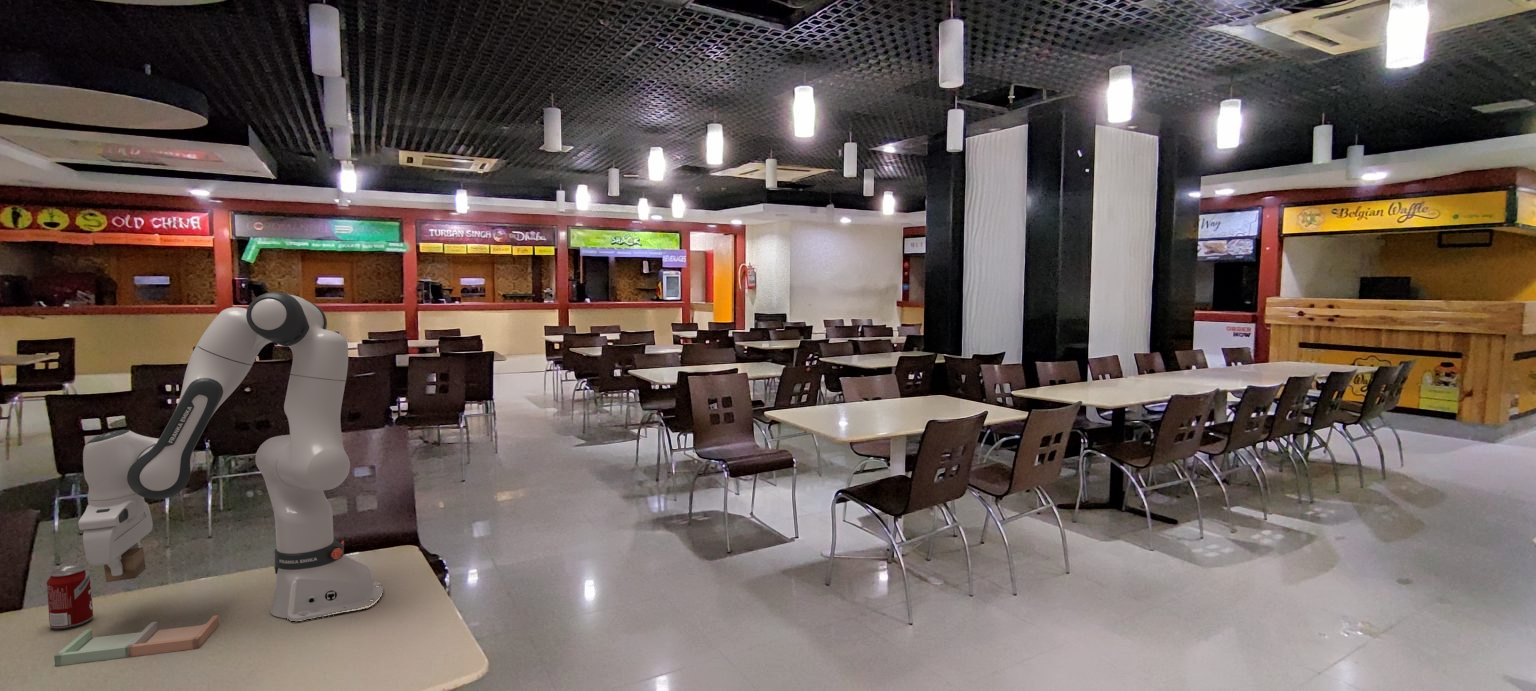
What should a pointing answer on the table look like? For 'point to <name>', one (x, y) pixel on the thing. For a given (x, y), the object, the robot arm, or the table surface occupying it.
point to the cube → (128, 565)
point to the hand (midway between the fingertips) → (126, 568)
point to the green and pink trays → (134, 643)
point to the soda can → (69, 597)
